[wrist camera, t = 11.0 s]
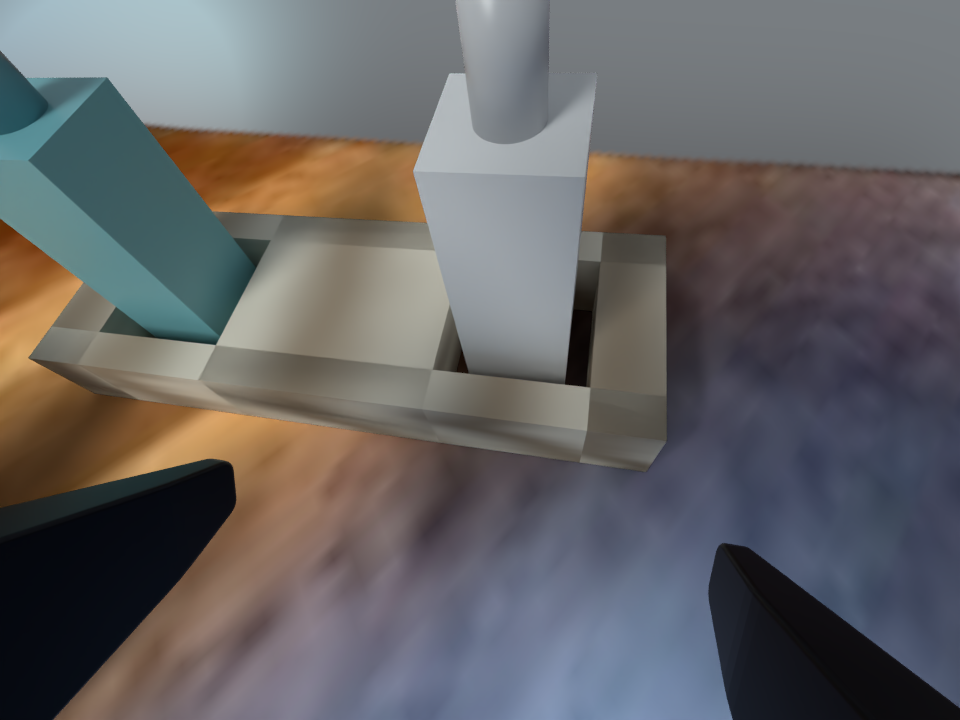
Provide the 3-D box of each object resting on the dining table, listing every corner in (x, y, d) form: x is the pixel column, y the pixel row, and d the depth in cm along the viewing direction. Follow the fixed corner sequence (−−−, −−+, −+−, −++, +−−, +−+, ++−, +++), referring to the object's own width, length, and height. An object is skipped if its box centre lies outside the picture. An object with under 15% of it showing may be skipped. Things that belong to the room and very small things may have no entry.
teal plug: (281, 299, 21) (-2, -62, 10) (250, 364, 20) (-126, 19, 9) (215, 293, 22) (-119, -54, 11) (180, 356, 21) (-254, 25, 9)
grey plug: (562, 400, 18) (603, -9, 6) (473, 389, 18) (365, -1, 7) (571, 324, 19) (616, -111, 8) (489, 317, 20) (422, -96, 9)
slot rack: (649, 288, 20) (665, 235, 17) (646, 472, 16) (667, 440, 13) (182, 253, 24) (138, 207, 21) (94, 393, 20) (28, 358, 17)
